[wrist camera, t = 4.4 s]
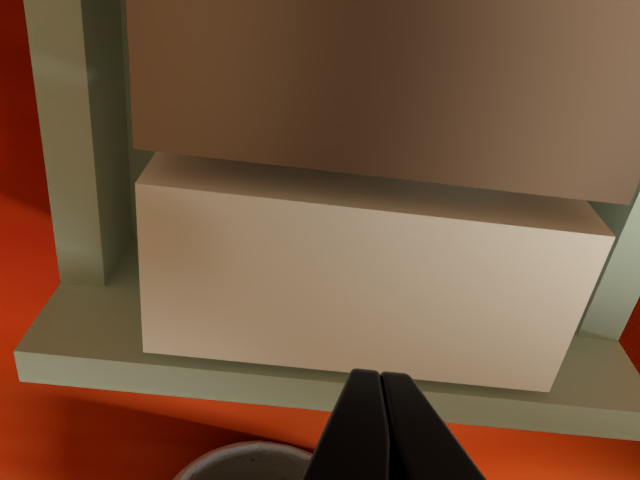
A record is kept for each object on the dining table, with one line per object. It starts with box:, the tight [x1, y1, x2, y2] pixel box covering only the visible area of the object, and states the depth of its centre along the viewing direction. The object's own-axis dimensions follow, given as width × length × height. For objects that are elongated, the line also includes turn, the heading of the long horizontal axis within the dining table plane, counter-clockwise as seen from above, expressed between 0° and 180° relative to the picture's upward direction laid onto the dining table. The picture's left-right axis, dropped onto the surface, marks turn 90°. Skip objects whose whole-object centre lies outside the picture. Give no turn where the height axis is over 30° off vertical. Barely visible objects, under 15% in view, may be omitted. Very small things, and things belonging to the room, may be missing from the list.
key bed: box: [14, 0, 640, 441], centre depth 11 cm, size 13×14×6 cm
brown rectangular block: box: [126, 0, 640, 205], centre depth 10 cm, size 8×4×2 cm, turn 83°
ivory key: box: [135, 152, 616, 392], centre depth 12 cm, size 8×4×2 cm, turn 83°
